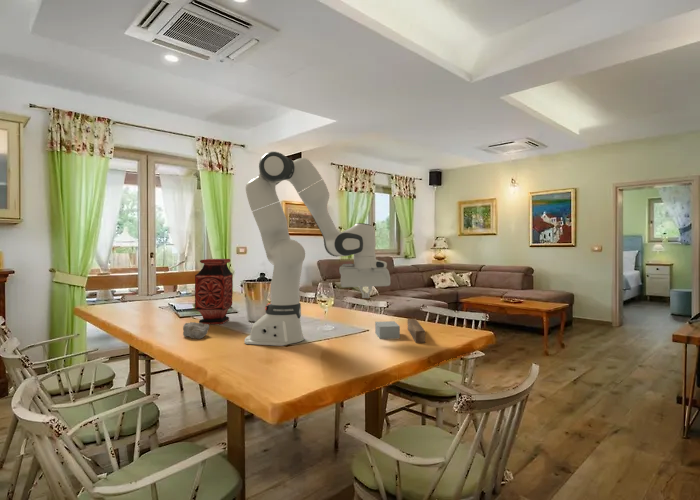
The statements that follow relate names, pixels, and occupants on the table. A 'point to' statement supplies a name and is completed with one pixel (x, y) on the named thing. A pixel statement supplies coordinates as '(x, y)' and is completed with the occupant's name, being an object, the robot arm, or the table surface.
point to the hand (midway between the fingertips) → (365, 297)
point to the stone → (195, 330)
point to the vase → (214, 291)
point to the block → (387, 330)
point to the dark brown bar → (416, 331)
